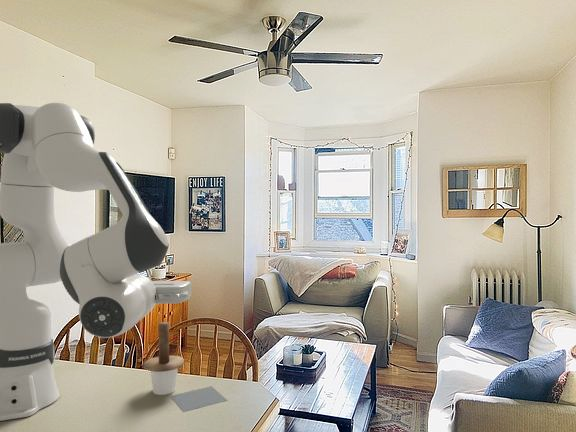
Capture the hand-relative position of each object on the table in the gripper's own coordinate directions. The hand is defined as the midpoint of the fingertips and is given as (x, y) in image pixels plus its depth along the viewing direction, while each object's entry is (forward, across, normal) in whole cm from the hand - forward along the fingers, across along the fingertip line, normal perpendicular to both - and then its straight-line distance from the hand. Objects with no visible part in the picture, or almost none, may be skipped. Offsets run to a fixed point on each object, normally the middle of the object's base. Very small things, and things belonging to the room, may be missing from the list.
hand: (151, 284), depth 99 cm
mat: (+5, -10, +29) cm, 31 cm away
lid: (+11, 0, +22) cm, 25 cm away
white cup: (+11, 0, +30) cm, 32 cm away
